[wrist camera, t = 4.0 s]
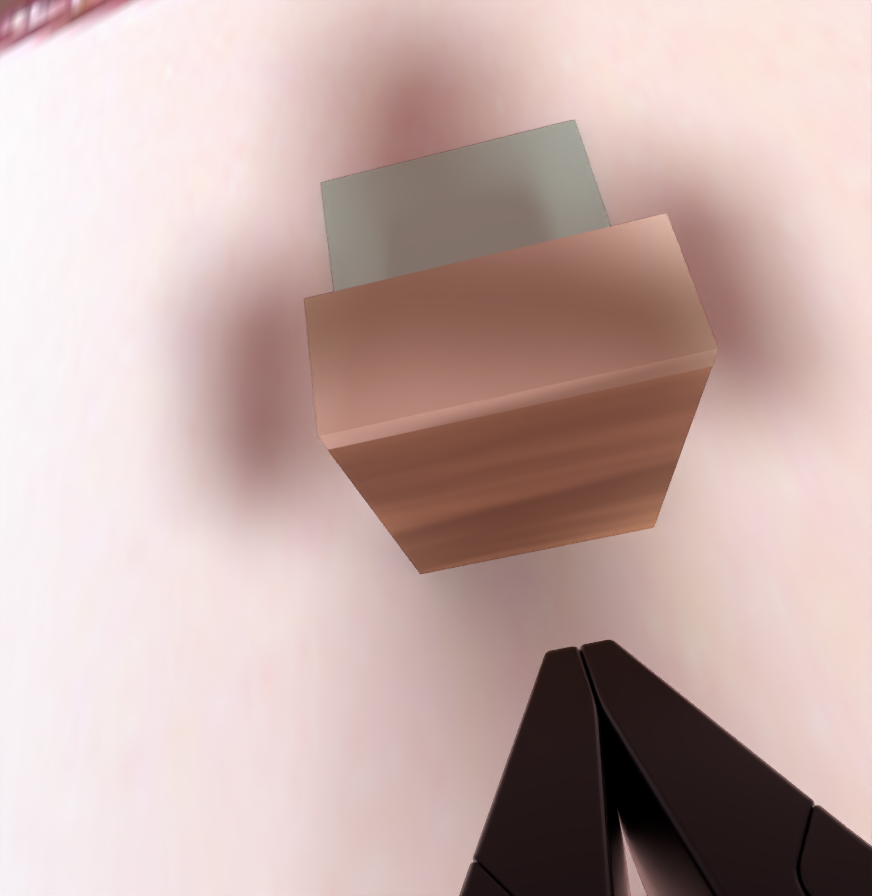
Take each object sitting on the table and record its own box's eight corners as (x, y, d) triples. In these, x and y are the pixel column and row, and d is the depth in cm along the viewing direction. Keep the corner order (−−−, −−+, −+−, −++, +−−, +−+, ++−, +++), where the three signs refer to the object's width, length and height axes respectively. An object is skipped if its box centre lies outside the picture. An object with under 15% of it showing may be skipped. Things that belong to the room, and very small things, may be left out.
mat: (665, 397, 23) (666, 392, 23) (356, 463, 24) (354, 460, 23) (574, 126, 28) (574, 119, 28) (322, 187, 29) (320, 182, 28)
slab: (653, 527, 21) (718, 348, 12) (420, 574, 22) (317, 436, 13) (626, 436, 23) (667, 212, 13) (406, 482, 23) (303, 298, 14)
